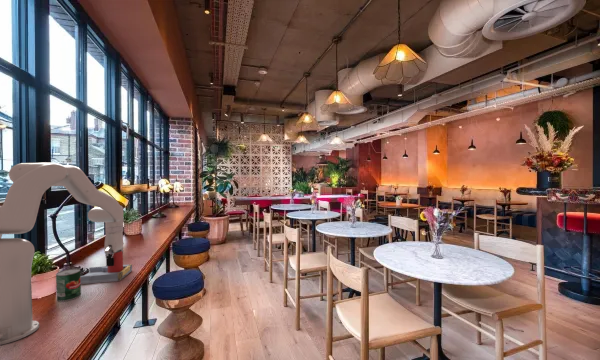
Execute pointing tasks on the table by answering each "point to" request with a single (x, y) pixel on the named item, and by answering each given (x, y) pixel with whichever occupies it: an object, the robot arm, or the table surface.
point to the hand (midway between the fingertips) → (115, 262)
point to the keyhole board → (104, 274)
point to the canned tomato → (68, 284)
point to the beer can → (117, 262)
